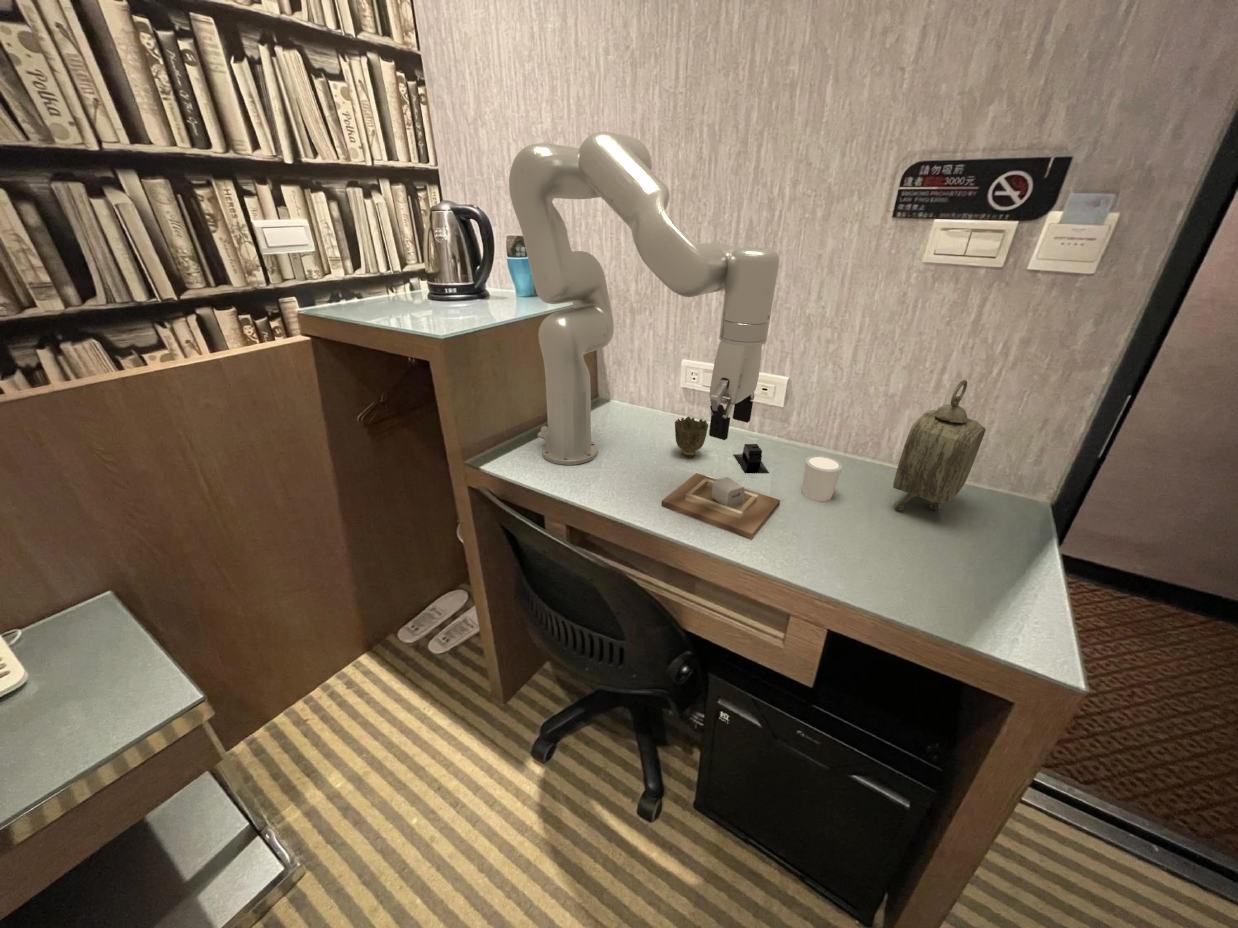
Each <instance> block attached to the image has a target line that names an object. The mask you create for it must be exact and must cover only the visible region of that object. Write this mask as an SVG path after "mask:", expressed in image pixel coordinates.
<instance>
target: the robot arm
mask: <svg viewBox="0 0 1238 928" xmlns="http://www.w3.org/2000/svg"><path fill="white" fill-rule="evenodd" d="M651 157H652V156H651V154H650V151H649V150H648V147H646V145H645V144H644V143H643V142H642V141H641V140H640V139H638V138H636V137H633V136H629V135H625V134H621V133H620V134H619V133H615V132H610V131H598V132H595V133H592V134H590V135H589V136H587V137H586V138H585V139H584V140H583V141H582V142H581V145H580V146H579V147H572V146H567V145H560V144H553V143H547V142H546V143H545V142H542V143H541V142H539V143H532V144H529V145H527V146H525V147H523V148H522V149H520V150H519V152H517V154H516V155H515V157H514V159H513V161H512V164H511V168H510V171H509V175H508V177H509V178H508V189H509V195H510V201H511V205H512V207H513V210H514V213H515V217H516V219H517V223H518V224H519V228H520V231H521V235H522V238H523V242H524V246H525V247H524V248H525V252H526V255H527V256H526V257H527V260H528V265H529V268H530V269H529V270H530V274H531V277H532V282H533V285H534V289H535V292H536V295H537V296H538V298H539V299H540V300H541V301H542V302H543V303H546V304H550V305H557V304H565V303H572V306H573V308H568V309H564V310H559V311H556V312H553V313H550V314H549V315H548V316H546V317H545V318H544V319H543V320H542V322H541V323H540V326H539V328H538V343H539V347H540V351H541V355H542V360H543V365H544V374H545V375H544V377H545V391H546V413H547V416H546V417H547V426H546V425H544V426H543V425H542V426H541V428H540V431H539V432H538V433H537V438H540V439H543V440H544V442H545V443H544V445H543V447H542V448H541V452H542V453H541V454H542V457H543V458H544V459H545V460H546V461H549V462H550V463H554V464H556V465H567V466H568V465H569V466H571V465H581V464H584V463H588V462H590V461H592V460H593V459H595V458H596V457H597V455H598V453H599V452H598V446H597V444H596V443H594V442H593V441H592V426H591V425H592V420H591V419H592V417H591V416H592V415H591V413H592V411H591V409H592V403H591V402H592V400H591V399H592V397H591V395H592V394H591V393H592V391H591V388H592V387H591V374H590V371H589V368H588V366H587V364H586V361H585V358H584V356H585V355H587V354H589V353H591V352H592V353H593V352H596V351H599V350H601V349H603V348H605V347H606V346H607V345H608V344H610V342H611V341H612V340H613V336H614V329H615V328H614V327H615V326H614V318H613V312H612V306H611V302H610V295H609V291H608V285H607V280H606V276H605V272H604V269H603V267H602V265H601V263H600V262H599V260H598V259H597V258H596V257H595V256H594V255H593V254H591V253H589V252H587V251H583V250H574V251H573V250H572V247H571V244H570V241H569V240H570V239H569V236H568V229H567V226H566V224H565V220H564V219H563V217H562V215H561V214H560V212H559V210H558V209H557V208H556V207H555V205H554V203H553V202H554V199H562V200H589V199H590V200H591V199H595V198H596V199H597V198H601V199H602V200H603V201H604V202H605V204H607V206H609V208H611V210H612V211H613V212H614V213H615V214H616V215H617V216H619V218H620V219H621V220H622V221H623V222H624V223H625V224H626V225H627V226H628V227H629V229H630V230H631V236H632V239H633V242H634V245H635V248H636V250H637V253H638V254H639V257H640V258H641V260H642V262H643V263H644V265H646V267H648V269H649V270H650V271H651V272H652V273H653V274H654V275H655V276H656V277H657V278H658V279H659V281H660V282H662V283H663V284H664V285H665V286H666V287H667V288H668V289H669V290H670V291H672V292H673V293H676V294H677V295H679V296H681V297H683V298H694V297H699V296H702V295H705V294H711V293H717V292H724V293H723V295H724V296H723V305H722V313H721V318H720V319H721V321H720V329H719V337H718V339H719V340H720V341H719V343H718V347H717V351H716V354H715V359H714V363H713V364H714V365H713V369H712V373H711V379H710V380H711V381H710V387H709V394H708V396H709V399H710V406H709V407H710V423H709V432H708V435H709V436H710V437H712V438H715V439H719V440H723V441H725V440H728V437H729V430H730V429H729V428H730V423H731V417H729V416H730V413H731V411H732V408H733V412H732V413H733V414H732V419H733V420H735V421H739V422H743V423H747V424H748V423H750V421H751V416H752V412H753V411H752V410H753V405H754V399H755V396H756V395H755V391H756V389H757V385H758V382H759V377H760V371H761V370H760V369H761V363H762V362H761V360H762V353H763V351H762V350H763V345H765V344H767V340H768V339H767V338H768V334H769V327H770V326H769V325H770V319H771V314H772V307H773V302H774V297H775V291H776V290H775V289H776V284H777V277H778V274H779V273H778V272H779V267H780V266H779V265H780V257H779V253H778V252H777V251H775V250H774V249H770V248H766V247H765V248H764V247H763V248H762V247H737V246H734V245H729V244H726V243H725V244H724V243H721V242H709V243H708V242H703V243H693V242H692V241H691V240H690V239H689V238H688V237H687V236H686V235H685V234H684V233H683V232H682V231H681V230H680V229H679V228H678V227H677V225H675V224H674V222H673V221H672V220H671V219H670V217H669V215H668V214H667V211H666V210H667V207H668V204H669V201H670V191H669V187H668V186H667V184H665V183H664V182H663V180H661V179H660V178H659V176H657V175H656V174H655V173H654V172H653V171H652V167H653V163H652V162H653V161H652V158H651ZM722 404H723V405H722ZM724 405H726V406H725V408H724Z"/></svg>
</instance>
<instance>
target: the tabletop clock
mask: <svg viewBox="0 0 1238 928" xmlns="http://www.w3.org/2000/svg"><path fill="white" fill-rule="evenodd" d="M961 388H962V390H961ZM967 388H968V381H967V379H963V380H961V381H960V382H959V383H958V384H957V385H956V388H955V389H954V391H953V393H952V396H951V399H950V404H943V405H942V406H940V407H939V408H937V409H930V410H928V411H926V412H925V413H923V414H921V416H920V417H919V418H917V420H916V421H914V423H913V424H912V426H911V428H910V430H909V433H908V435H907V438H906V441H905V443H904V446H903V449H902V452H901V456H900V459H899V462H898V465H897V469H896V472H895V475H894V480H893V485H892V486H893V487H892V488H893V489H894V490H895V489H896V490H898V491H901V492H903V493H906V494H907V495H906V496H905V497H904V498H903V499H902V500H901V501H897V502H895V503H894V509H895V510H896V511H902V510H904V508H905V503H907V502H908V501H910V500H911V499H912V498H915V497H918V498H921V499H923V500H927V501H929V502H931V503H930V505H929V506H930V509H931V510H932V511H938V510H939V509H940V507H941V504H940V503H945V502H947V503H948V502H951V501H952V500H953V499H955V497H956V496H957V495H958V493H959V492H960V491H961V489H963V487H964V485H965V484H966V482H967V480H968V478H969V475H970V473H971V471H972V467H973V466H974V462H975V460H976V457H977V455H978V453H979V450H980V447H981V445H982V444H981V443H982V441H983V439H984V436H985V433H986V427H984V425H982V424H980V422H978V420H975V419H971V418H968V413H967V411H966V409H965V408H964V407H962V406H960V403H961V402H960V401H962V399H963V397H964V395H965V392H966V390H967ZM959 390H961V392H960V394H959V396H958V395H957V394H958V393H959Z"/></svg>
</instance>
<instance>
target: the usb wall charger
mask: <svg viewBox="0 0 1238 928" xmlns="http://www.w3.org/2000/svg"><path fill="white" fill-rule="evenodd" d="M715 479H716V478H715ZM709 483H710V482H708V485H709ZM709 486H710V487H711V488H712V498H713V499H714V500H716V501H717V502H718V503H720V504H722V505H725V506H727V507H730V508H734V507H738V506H740V505H742V503H743V499H744V492H745V489H746V488H745V486H743V485H741V484H739V483H738V482H737V481H735V480H733V479H732V478H730V477H729V476H726V477H722V478H719V479H716V480H715V481H714V483H713V484H712V483H710V485H709Z"/></svg>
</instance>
